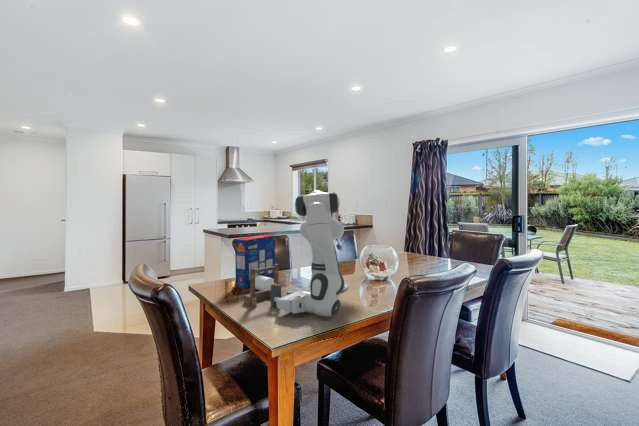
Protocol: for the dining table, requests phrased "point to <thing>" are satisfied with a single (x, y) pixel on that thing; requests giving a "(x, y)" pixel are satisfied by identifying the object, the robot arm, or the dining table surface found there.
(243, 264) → the pasta box
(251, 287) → the wooden rack frame
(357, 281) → the dining table surface
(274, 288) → the grey corked bottle
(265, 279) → the mug
